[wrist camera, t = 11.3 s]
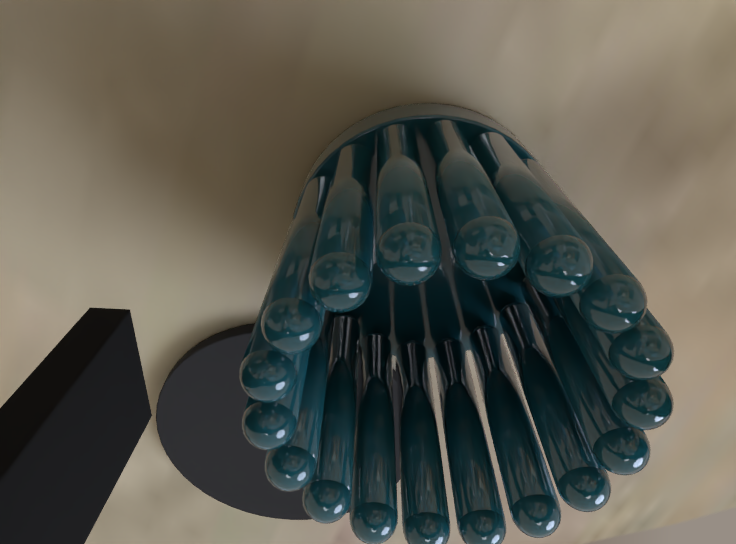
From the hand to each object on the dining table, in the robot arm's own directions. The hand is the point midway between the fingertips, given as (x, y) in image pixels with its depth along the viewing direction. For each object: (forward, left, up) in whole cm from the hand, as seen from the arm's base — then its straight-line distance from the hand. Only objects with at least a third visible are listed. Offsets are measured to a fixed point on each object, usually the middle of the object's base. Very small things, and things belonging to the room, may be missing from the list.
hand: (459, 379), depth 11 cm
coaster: (+10, -5, -8) cm, 13 cm away
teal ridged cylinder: (0, +4, -3) cm, 5 cm away
